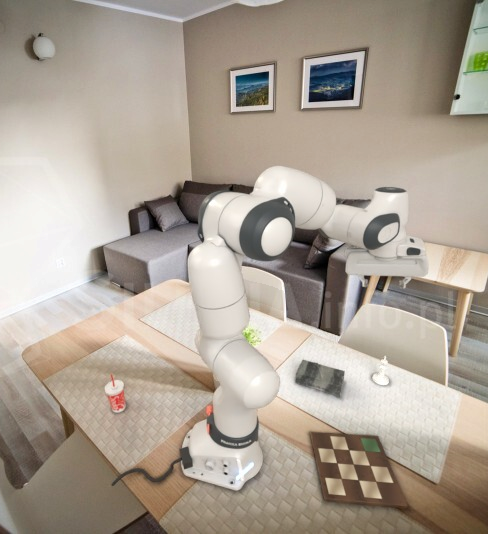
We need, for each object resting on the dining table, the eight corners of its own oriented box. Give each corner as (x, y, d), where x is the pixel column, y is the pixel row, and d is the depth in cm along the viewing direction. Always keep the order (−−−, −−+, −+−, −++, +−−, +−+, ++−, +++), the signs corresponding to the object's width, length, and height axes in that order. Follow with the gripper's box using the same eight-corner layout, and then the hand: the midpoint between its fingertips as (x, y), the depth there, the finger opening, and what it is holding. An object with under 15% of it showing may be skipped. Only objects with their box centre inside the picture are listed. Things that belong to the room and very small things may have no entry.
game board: (324, 501, 78) (325, 498, 77) (310, 434, 94) (310, 431, 93) (406, 509, 75) (407, 505, 74) (377, 438, 91) (378, 435, 91)
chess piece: (388, 376, 111) (393, 353, 107) (389, 386, 107) (394, 363, 103) (371, 373, 113) (376, 350, 109) (372, 383, 109) (377, 359, 105)
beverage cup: (106, 412, 107) (97, 379, 101) (116, 398, 112) (108, 366, 106) (122, 416, 105) (114, 383, 99) (131, 401, 110) (124, 369, 104)
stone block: (302, 367, 119) (303, 355, 116) (344, 380, 111) (346, 368, 109) (294, 383, 112) (295, 371, 110) (340, 398, 104) (341, 386, 102)
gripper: (344, 250, 91) (343, 291, 98) (433, 249, 83) (426, 294, 89) (344, 240, 96) (344, 279, 103) (428, 238, 87) (422, 281, 94)
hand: (383, 286), depth 96 cm, fingers open, 8 cm apart
